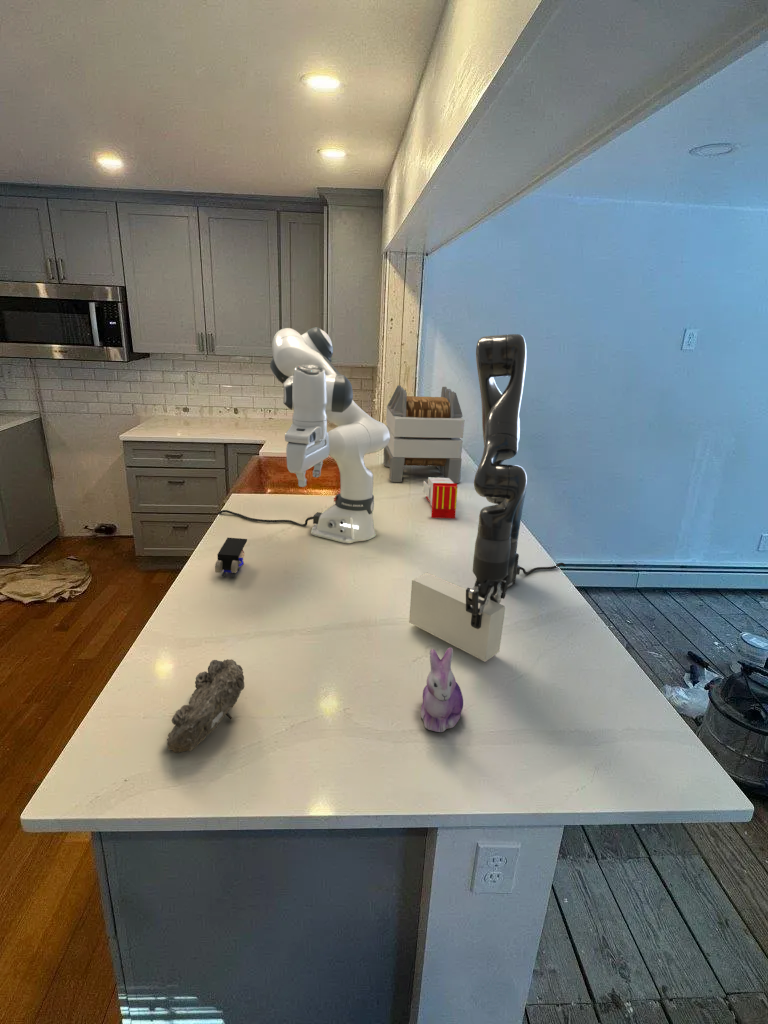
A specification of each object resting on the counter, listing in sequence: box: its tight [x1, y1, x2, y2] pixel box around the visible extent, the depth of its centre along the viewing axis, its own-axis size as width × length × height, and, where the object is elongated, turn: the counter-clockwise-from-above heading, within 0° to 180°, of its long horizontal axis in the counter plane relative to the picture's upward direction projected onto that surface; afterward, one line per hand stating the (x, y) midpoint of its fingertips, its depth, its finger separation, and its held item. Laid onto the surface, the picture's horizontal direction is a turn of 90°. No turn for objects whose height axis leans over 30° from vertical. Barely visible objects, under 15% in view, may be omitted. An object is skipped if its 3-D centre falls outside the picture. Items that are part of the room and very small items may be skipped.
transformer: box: [383, 384, 465, 484], centre depth 268 cm, size 34×33×41 cm
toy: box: [422, 476, 458, 519], centre depth 227 cm, size 12×13×30 cm
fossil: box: [166, 658, 245, 754], centre depth 106 cm, size 22×10×15 cm
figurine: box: [420, 647, 464, 733], centre depth 108 cm, size 9×10×15 cm
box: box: [408, 572, 506, 662], centre depth 134 cm, size 23×6×12 cm, turn 47°
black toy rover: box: [214, 537, 248, 578], centre depth 166 cm, size 7×8×15 cm
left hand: (309, 481), depth 151 cm, fingers open, 8 cm apart
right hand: (483, 621), depth 128 cm, fingers closed on box, 6 cm apart
